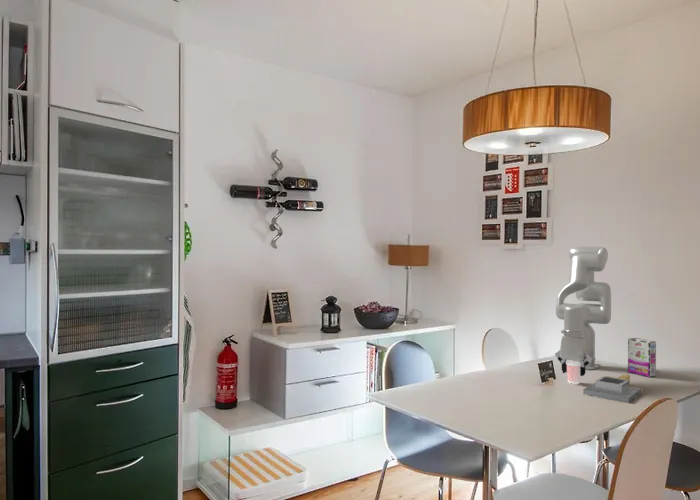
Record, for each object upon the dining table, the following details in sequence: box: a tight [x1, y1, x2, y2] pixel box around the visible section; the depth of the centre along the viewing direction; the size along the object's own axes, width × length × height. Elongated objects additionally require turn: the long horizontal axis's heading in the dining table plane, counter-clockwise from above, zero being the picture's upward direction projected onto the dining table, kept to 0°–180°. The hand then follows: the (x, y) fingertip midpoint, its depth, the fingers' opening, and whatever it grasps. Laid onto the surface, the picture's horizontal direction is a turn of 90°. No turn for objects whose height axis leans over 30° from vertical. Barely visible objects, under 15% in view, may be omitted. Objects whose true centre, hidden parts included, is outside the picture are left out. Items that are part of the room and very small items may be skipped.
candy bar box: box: [627, 337, 657, 378], centre depth 243 cm, size 11×5×16 cm, turn 25°
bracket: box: [606, 374, 631, 386], centre depth 221 cm, size 14×8×6 cm, turn 136°
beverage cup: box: [566, 360, 581, 385], centre depth 229 cm, size 6×6×14 cm
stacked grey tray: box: [583, 375, 642, 404], centre depth 213 cm, size 17×17×6 cm
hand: (573, 373), depth 230 cm, fingers open, 7 cm apart
